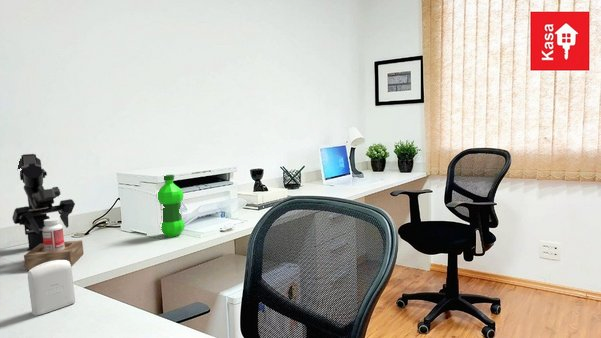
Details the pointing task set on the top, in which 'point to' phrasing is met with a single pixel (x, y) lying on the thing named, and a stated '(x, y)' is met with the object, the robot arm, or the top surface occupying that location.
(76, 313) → the top surface
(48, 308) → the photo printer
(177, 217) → the plastic bottle
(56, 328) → the top surface
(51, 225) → the pill bottle
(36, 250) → the wooden tray
